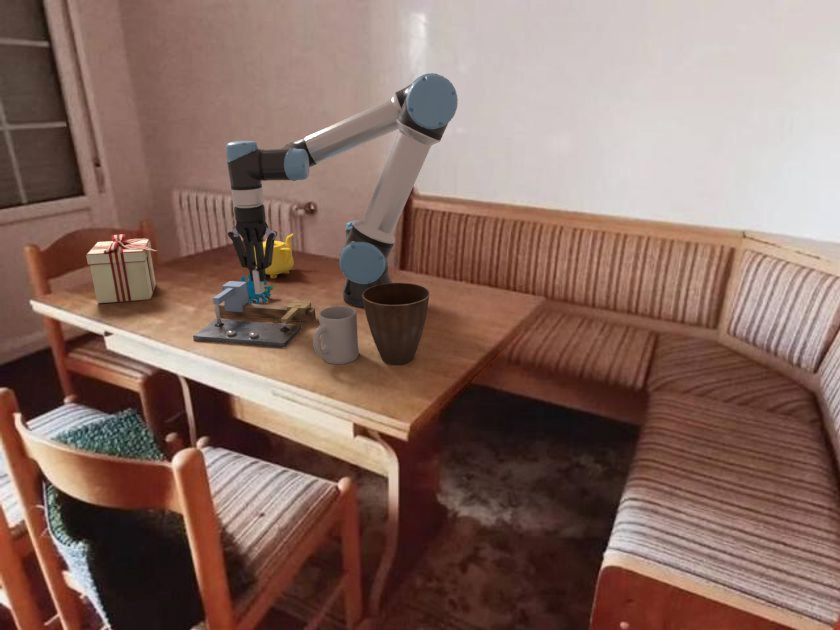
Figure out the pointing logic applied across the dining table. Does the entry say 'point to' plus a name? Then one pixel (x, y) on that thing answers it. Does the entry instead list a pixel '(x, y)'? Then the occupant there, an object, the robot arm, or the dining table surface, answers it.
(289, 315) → the fixed leg
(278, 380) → the dining table surface
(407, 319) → the plant pot
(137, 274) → the gift box
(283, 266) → the teapot
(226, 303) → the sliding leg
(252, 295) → the gear
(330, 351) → the mug
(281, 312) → the beam
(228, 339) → the hole plate
